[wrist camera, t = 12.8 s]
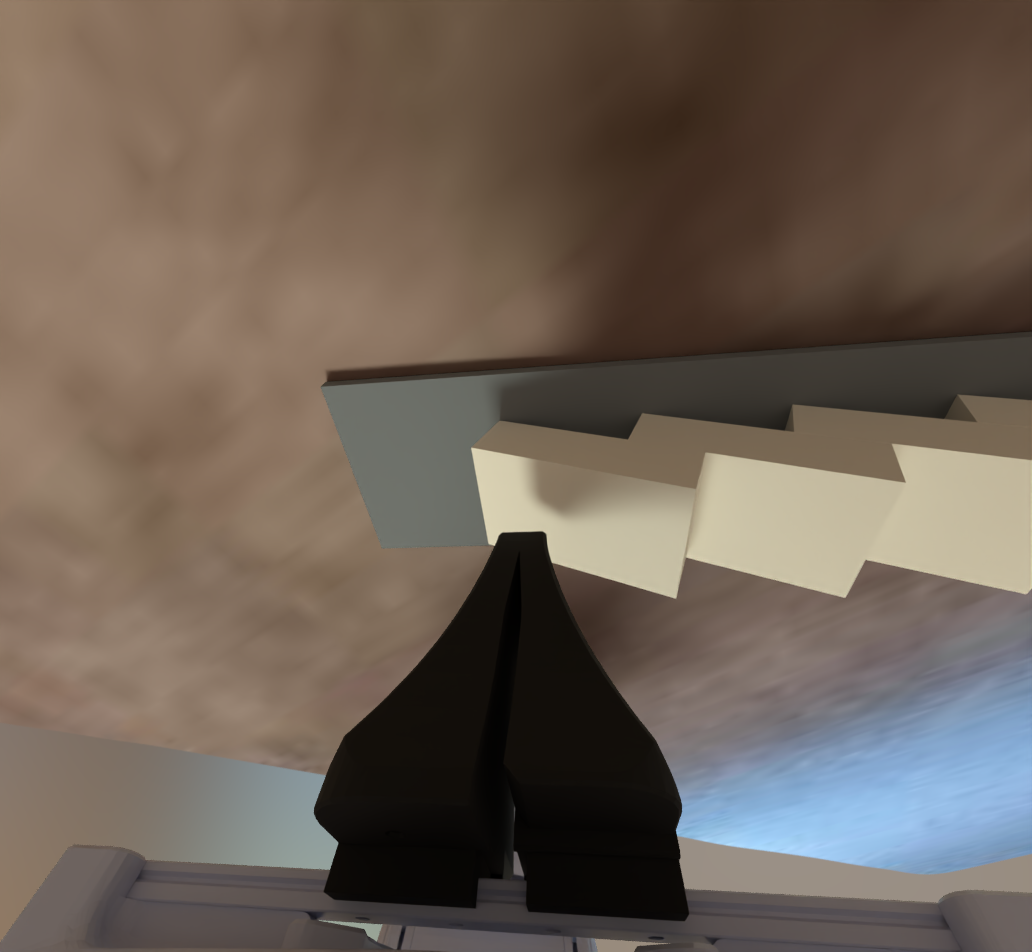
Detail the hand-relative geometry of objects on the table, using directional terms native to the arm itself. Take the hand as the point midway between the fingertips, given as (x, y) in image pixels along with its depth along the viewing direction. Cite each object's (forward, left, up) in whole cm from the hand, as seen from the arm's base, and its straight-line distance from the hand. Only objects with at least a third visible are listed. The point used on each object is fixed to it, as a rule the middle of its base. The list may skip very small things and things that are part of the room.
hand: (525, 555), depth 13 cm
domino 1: (0, +1, -4) cm, 4 cm away
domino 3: (0, -9, -4) cm, 10 cm away
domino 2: (0, -4, -4) cm, 5 cm away
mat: (0, -8, -5) cm, 9 cm away
